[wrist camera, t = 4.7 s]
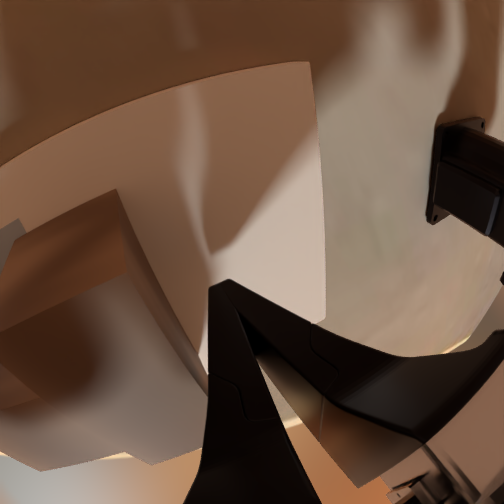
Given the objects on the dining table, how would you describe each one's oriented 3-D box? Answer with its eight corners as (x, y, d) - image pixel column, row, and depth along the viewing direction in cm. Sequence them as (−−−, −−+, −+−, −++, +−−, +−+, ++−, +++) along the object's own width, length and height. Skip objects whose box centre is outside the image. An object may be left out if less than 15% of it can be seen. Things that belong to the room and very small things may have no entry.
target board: (292, 61, 8) (309, 62, 8) (314, 306, 16) (325, 318, 15) (-116, 269, 4) (-125, 284, 3) (33, 423, 12) (34, 438, 11)
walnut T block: (115, 188, 7) (126, 271, 4) (198, 355, 12) (235, 433, 9) (-59, 288, 6) (-92, 381, 3) (61, 408, 11) (72, 484, 8)
